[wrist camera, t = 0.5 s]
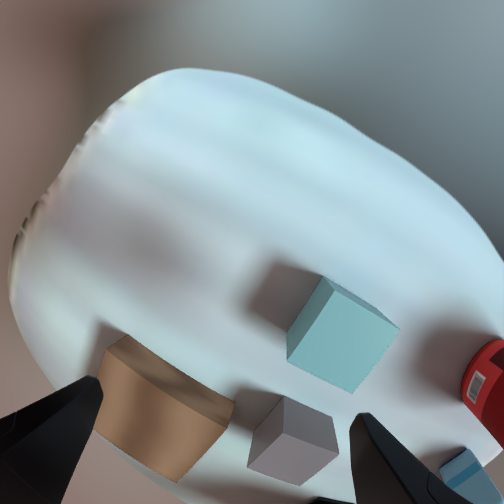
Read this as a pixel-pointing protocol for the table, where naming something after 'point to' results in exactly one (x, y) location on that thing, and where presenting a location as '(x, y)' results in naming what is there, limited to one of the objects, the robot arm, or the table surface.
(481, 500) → the data package
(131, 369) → the walnut base block
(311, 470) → the gray cube
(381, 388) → the table surface
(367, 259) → the table surface
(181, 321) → the table surface
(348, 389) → the teal cube
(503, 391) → the canned food
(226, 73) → the table surface
